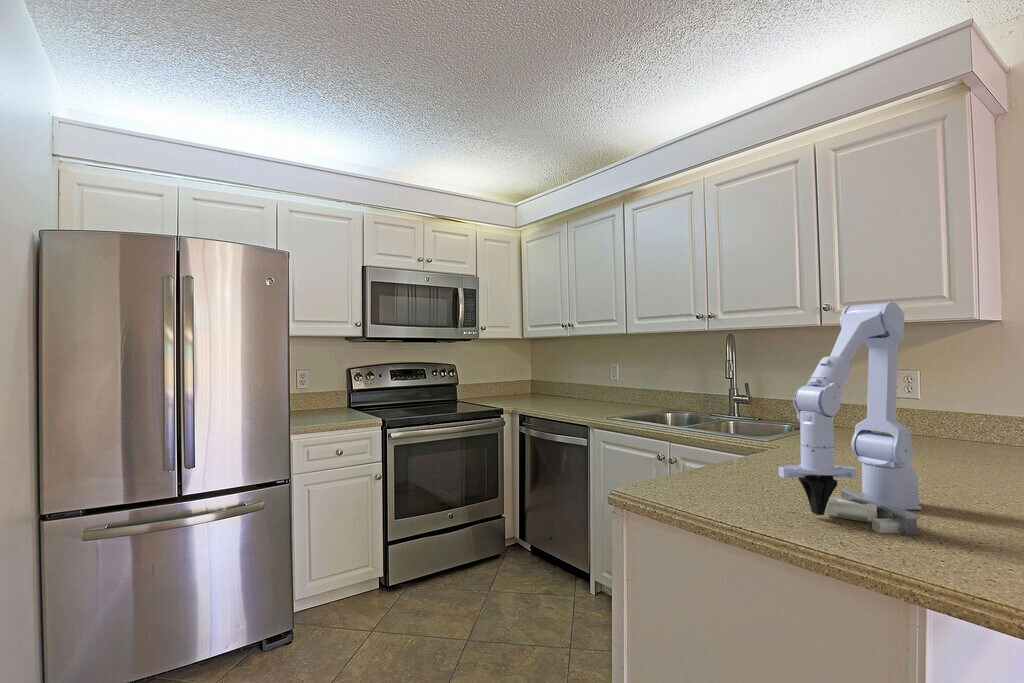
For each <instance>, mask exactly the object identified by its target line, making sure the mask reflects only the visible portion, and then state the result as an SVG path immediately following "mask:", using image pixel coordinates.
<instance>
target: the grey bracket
mask: <svg viewBox="0 0 1024 683" xmlns="http://www.w3.org/2000/svg"><path fill="white" fill-rule="evenodd" d="M830 498H831V499H835V498H841V499H845V500H849V501H852V502H856V503H859V504H864V505H866V504H875V505H876V506H877V519H872V524H871V528H872V529H871V530H872V531H874V532H877V533H878V534H902V535H904V536H917V535H918V522H917V520H920V519H921V516H920V515H918V514H916V513H914V512H911V511H910V510H907V509H902V508H899V507H897V506H894V505H892V504H889V503H887V502H884V501H882V500H880V499H877V498H875V497H872V496H870V495H867V494H865V493H862V491H860V490H857V489H855V488H840V496H830ZM826 508H828V503H827V506H826Z"/></svg>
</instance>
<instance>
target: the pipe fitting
mask: <svg viewBox="0 0 1024 683" xmlns="http://www.w3.org/2000/svg"><path fill="white" fill-rule="evenodd" d="M827 516H828V518H831V519H843V520H851V521H856V522H857V521H858V522H864V523H867V524H871V525H872V519H877V506H876V505H875V504H866V505H864V504H859V503H856V502H852V501H849V500H845V499H841V498H835V499H831V498H829V500H828V507H827Z"/></svg>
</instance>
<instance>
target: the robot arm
mask: <svg viewBox="0 0 1024 683" xmlns="http://www.w3.org/2000/svg"><path fill="white" fill-rule="evenodd" d="M839 325H840V329H841V330H840V332H839V335H838V336H837V339H836V342H835V343H834V346H833V348H832V350H831V353H830V355H829V356H824V357H823V358H821V359H820V361H819V362H818V364H817V366H816V368H815V370H814V371H813V373H812V374H811V375H810V376H811V377H810V378H809V380H808V381H807V383H806V385H803V386H800V387H799V388H797V390H796V391H795V394H794V398H793V399H792V404H793V408H794V409H795V411H796V417H797V418H796V419H798V421H799V422H800V423H799V425H800V426H799V430H800V440H799V441H800V464H795V465H783V466H782V465H781V466H778V476H779V478H780V477H781V478H782V479H789V478H797V479H798V481H799V483H800V484H801V485H802V488H803V490H804V492H805V493H806V494H805V495H806V497H807V499H808V502H809V507H810V510H811V513H813V514H815V515H817V516H824V515H825V513H826V508H827V507H826V506H827V503H828V500H829V498H830V497H832V496H831V495H832V494H833V492H834V491H835V489H836V488H837V486H838V480H836V479H834V478H849V479H857V477H858V476H857V475H858V474H857V468H856V467H852V466H848V465H846V466H844V465H843V466H841V465H835V457H834V456H835V447H834V446H835V443H834V442H835V441H834V439H835V438H834V437H835V436H834V416H835V415H836V414H837V413H838V411H839V410H840V408H841V401H842V395H843V392H842V388H843V387H844V385H845V383H846V382H847V380H848V378H849V376H850V374H851V371H852V367H851V366H850V364H849V363H850V362H851V359H852V358H853V357H854V356H855V354H856V353H857V351H858V350H859V348H860V347H861V345H862V344H864V345H866V346H867V348H868V371H867V373H868V374H867V375H868V376H867V398H866V399H867V403H866V408H867V409H866V417H865V418H864V419H863V420H861V421H860V422H858V423H856V424H855V425H854V433H853V436H852V438H851V442H850V443H851V450H852V453H853V454H854V455H855V457H857V460H858V462H861V488H862V489H861V492H862V493H865V494H867V495H870V496H872V497H875V498H877V499H880V500H882V501H884V502H887V503H889V504H892V505H894V506H897V507H899V508H902V509H904V510H922V509H923V508H922V507H921V506H919V479H918V474H917V473H916V470H915V469H914V468H913V467H912V466H911V465H909V463H911V461H912V459H913V457H914V451H915V450H914V449H915V448H914V445H913V442H912V433H911V430H909V428H907V427H906V426H904V425H903V424H902V423H901V422H900V421H898V420H897V390H898V388H897V387H898V385H897V384H898V360H899V359H898V355H899V354H898V353H899V350H898V349H899V343H900V342H902V341H904V334H905V313H904V311H903V310H902V308H901V307H900V306H899V304H897V302H894V301H888V302H884V303H880V302H879V303H871V304H870V303H869V304H857V305H851V304H849V305H847V306H845V307H844V308H843V310H842V312H841V314H840V316H839Z"/></svg>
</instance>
